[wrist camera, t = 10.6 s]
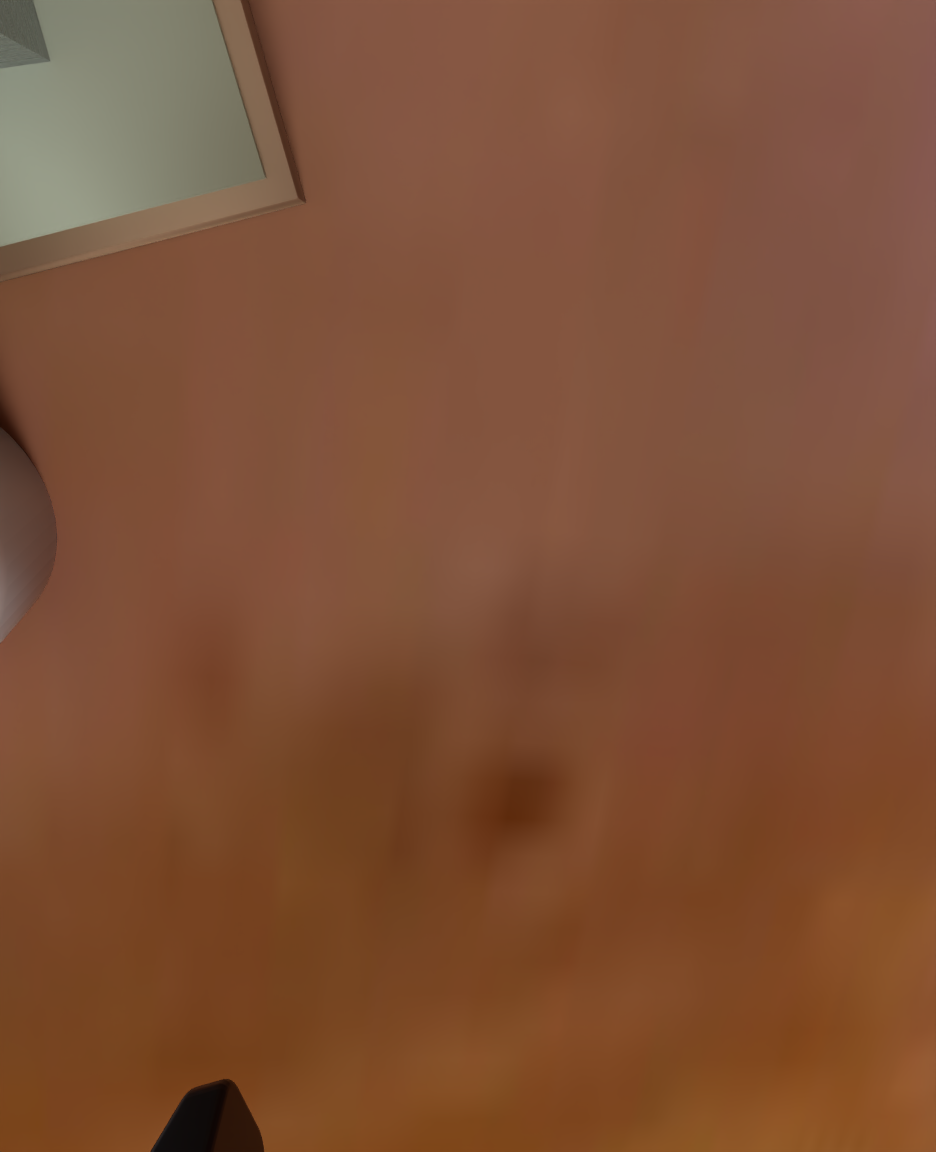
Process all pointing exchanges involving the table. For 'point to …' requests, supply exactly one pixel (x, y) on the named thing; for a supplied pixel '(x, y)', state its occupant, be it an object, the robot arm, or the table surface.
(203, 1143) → the robot arm
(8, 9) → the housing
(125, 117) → the stand
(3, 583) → the light grey rounded cylinder
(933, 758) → the table surface
